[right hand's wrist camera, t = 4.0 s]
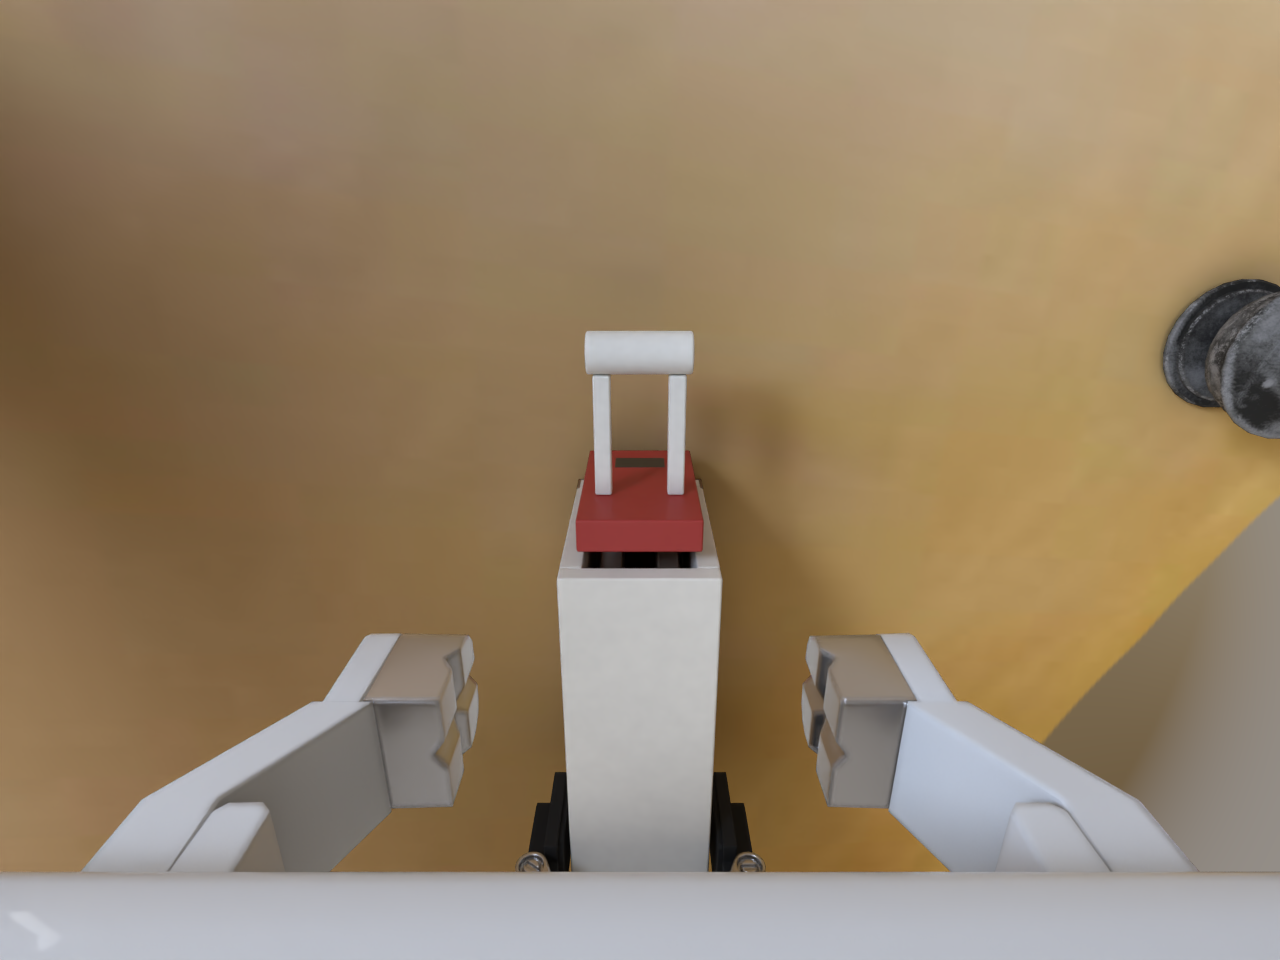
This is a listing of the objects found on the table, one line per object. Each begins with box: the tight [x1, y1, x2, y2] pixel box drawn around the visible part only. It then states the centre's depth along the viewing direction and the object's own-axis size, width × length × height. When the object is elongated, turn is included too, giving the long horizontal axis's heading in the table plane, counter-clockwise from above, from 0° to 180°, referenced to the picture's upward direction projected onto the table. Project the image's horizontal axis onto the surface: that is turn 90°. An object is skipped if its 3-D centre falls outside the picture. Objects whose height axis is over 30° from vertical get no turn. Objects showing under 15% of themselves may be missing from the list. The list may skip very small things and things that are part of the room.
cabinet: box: [557, 479, 723, 872], centre depth 30 cm, size 18×6×9 cm, turn 0°
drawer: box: [575, 331, 704, 568], centre depth 28 cm, size 22×4×7 cm, turn 0°
